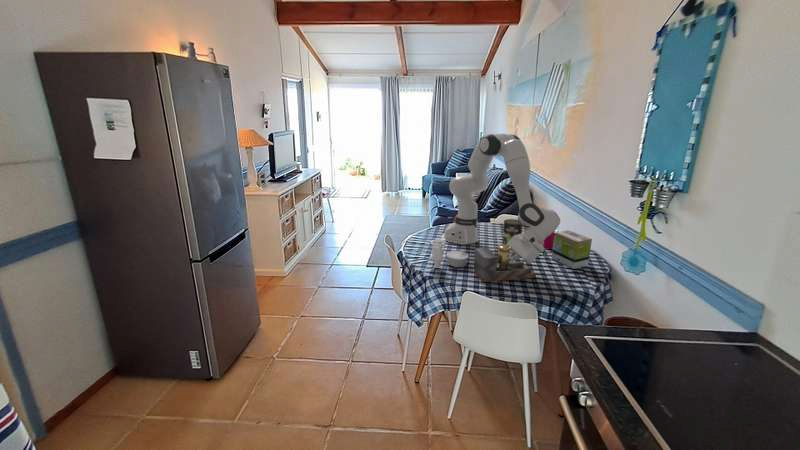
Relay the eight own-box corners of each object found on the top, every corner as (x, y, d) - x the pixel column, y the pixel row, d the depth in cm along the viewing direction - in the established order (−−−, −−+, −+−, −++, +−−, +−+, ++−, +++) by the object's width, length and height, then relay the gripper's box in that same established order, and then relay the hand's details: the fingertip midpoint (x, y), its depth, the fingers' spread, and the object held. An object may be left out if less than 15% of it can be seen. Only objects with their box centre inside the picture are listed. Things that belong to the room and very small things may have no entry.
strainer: (445, 270, 182) (446, 241, 177) (431, 271, 181) (432, 242, 177) (443, 264, 188) (443, 236, 184) (429, 265, 188) (429, 237, 183)
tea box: (550, 258, 195) (553, 232, 190) (564, 255, 199) (568, 229, 194) (573, 269, 182) (577, 241, 177) (588, 266, 185) (592, 238, 181)
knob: (499, 273, 172) (500, 249, 168) (493, 268, 178) (495, 244, 174) (511, 273, 173) (513, 248, 169) (505, 267, 179) (507, 243, 175)
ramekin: (471, 267, 185) (471, 258, 183) (449, 269, 183) (449, 259, 181) (463, 259, 195) (464, 249, 194) (443, 260, 193) (443, 251, 192)
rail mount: (482, 282, 169) (484, 258, 165) (473, 271, 180) (475, 248, 176) (536, 278, 172) (539, 254, 169) (524, 268, 184) (526, 245, 180)
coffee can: (519, 249, 208) (522, 225, 204) (500, 246, 212) (502, 223, 208) (521, 243, 217) (523, 220, 213) (503, 241, 221) (505, 218, 217)
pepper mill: (556, 249, 207) (560, 214, 201) (542, 248, 209) (546, 214, 203) (554, 245, 214) (558, 211, 208) (540, 244, 215) (544, 210, 209)
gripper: (517, 228, 182) (496, 248, 183) (538, 242, 162) (515, 265, 164) (524, 236, 184) (504, 256, 185) (546, 251, 164) (523, 273, 166)
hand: (509, 260), depth 174 cm, fingers closed, pressing on knob
